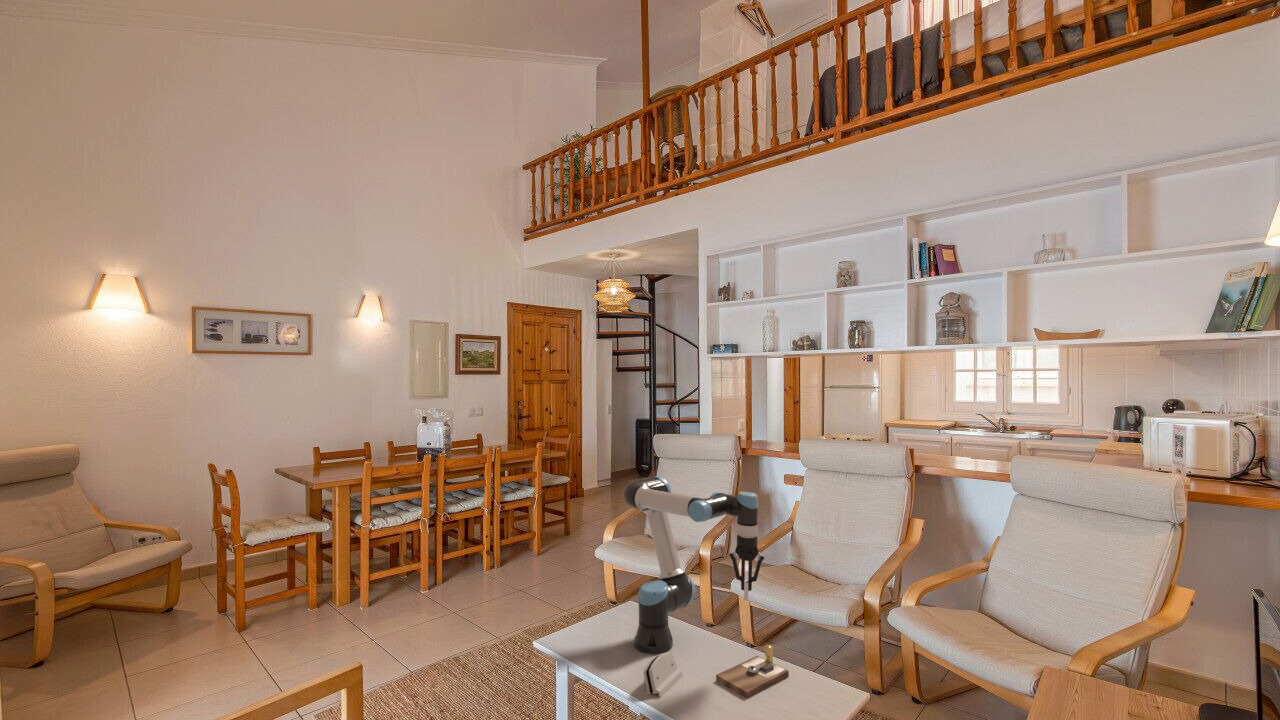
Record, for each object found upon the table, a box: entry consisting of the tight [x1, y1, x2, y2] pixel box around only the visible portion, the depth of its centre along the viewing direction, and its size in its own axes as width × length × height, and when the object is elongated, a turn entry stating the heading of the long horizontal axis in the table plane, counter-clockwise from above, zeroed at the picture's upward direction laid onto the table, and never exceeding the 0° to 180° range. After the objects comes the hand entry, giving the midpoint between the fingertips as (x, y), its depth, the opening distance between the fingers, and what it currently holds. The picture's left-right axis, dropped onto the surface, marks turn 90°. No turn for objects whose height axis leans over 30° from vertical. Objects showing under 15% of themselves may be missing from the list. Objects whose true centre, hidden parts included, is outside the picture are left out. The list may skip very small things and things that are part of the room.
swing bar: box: [748, 644, 774, 674], centre depth 205 cm, size 12×3×6 cm, turn 129°
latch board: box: [715, 655, 789, 699], centre depth 202 cm, size 14×22×4 cm, turn 129°
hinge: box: [643, 652, 683, 698], centre depth 199 cm, size 17×5×10 cm, turn 149°
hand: (746, 598), depth 213 cm, fingers closed
